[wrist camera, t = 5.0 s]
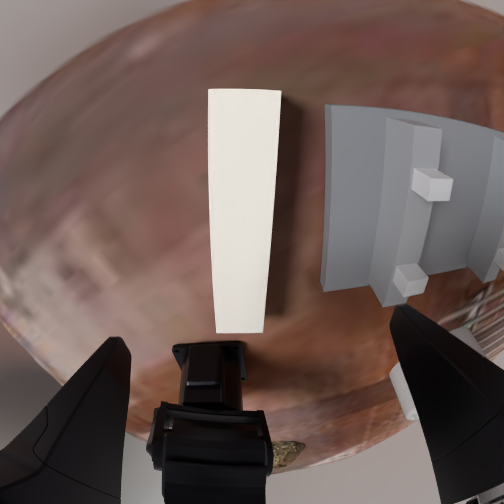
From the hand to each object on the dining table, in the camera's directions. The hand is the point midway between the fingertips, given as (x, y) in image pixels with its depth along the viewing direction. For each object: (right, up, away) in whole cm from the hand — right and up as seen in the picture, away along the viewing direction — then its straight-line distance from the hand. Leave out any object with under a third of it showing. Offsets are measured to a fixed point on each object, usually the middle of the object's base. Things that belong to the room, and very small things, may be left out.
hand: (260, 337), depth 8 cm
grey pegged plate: (+14, +7, +10) cm, 19 cm away
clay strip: (-1, +5, +10) cm, 11 cm away
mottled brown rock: (+4, -36, +37) cm, 52 cm away
